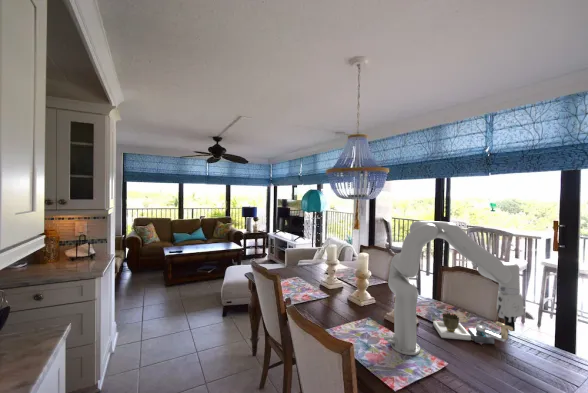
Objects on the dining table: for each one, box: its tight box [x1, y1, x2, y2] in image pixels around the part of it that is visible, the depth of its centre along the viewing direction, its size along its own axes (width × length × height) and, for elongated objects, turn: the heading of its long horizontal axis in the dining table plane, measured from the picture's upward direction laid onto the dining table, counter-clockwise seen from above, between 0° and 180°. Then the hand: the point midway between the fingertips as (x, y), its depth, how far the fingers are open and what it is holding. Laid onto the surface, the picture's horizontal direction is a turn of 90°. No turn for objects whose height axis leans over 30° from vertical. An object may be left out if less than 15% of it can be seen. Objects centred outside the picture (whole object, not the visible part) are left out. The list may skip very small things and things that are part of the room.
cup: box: [442, 312, 460, 332], centre depth 137 cm, size 8×7×8 cm
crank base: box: [467, 327, 495, 345], centre depth 130 cm, size 8×8×3 cm
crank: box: [475, 321, 514, 342], centre depth 125 cm, size 15×4×8 cm, turn 27°
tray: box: [432, 320, 472, 341], centre depth 137 cm, size 13×13×2 cm
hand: (509, 329), depth 122 cm, fingers closed
